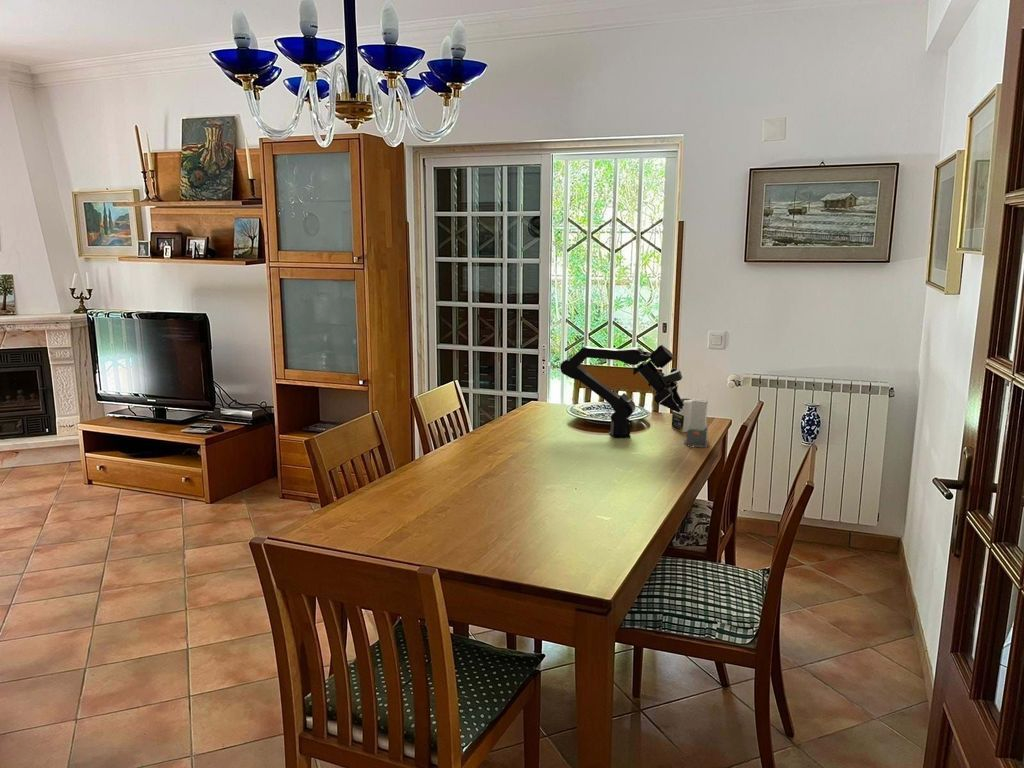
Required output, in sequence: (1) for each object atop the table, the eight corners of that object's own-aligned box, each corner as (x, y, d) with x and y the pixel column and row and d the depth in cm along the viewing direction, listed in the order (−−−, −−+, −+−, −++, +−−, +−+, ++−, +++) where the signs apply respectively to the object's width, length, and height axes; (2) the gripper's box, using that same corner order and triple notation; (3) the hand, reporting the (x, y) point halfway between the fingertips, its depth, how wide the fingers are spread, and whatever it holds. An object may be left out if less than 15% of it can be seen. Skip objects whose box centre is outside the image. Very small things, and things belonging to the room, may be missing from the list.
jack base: (682, 446, 266) (683, 430, 264) (685, 439, 274) (686, 424, 273) (708, 449, 263) (709, 433, 261) (710, 442, 271) (711, 427, 270)
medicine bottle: (671, 428, 289) (673, 398, 286) (685, 426, 292) (687, 396, 289) (682, 432, 283) (684, 402, 280) (697, 431, 286) (699, 400, 283)
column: (689, 433, 266) (691, 400, 263) (691, 429, 270) (693, 397, 268) (704, 434, 264) (706, 402, 261) (705, 431, 269) (708, 399, 266)
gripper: (665, 366, 257) (695, 400, 256) (673, 357, 274) (701, 389, 273) (641, 386, 261) (671, 420, 260) (650, 376, 279) (678, 408, 277)
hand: (681, 408), depth 268 cm, fingers open, 9 cm apart
